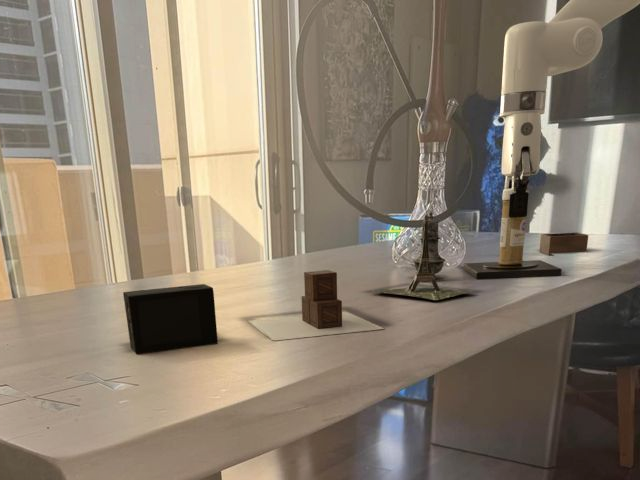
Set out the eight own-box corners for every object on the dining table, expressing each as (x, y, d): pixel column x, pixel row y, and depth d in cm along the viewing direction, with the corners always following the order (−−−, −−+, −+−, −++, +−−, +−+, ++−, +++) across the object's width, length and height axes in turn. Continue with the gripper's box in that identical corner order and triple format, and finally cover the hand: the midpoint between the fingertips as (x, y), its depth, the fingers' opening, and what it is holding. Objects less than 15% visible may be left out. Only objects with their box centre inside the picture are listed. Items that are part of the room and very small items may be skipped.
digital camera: (207, 336, 91) (202, 282, 88) (218, 344, 86) (213, 286, 84) (129, 346, 88) (121, 290, 85) (136, 354, 83) (127, 295, 81)
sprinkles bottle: (520, 265, 130) (527, 188, 124) (495, 265, 131) (500, 189, 126) (524, 262, 133) (530, 187, 128) (500, 262, 135) (505, 188, 130)
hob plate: (539, 266, 139) (540, 258, 138) (560, 275, 125) (561, 267, 125) (463, 269, 141) (464, 261, 140) (476, 279, 127) (476, 270, 126)
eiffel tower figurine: (367, 294, 117) (366, 210, 111) (408, 287, 122) (409, 206, 117) (436, 303, 106) (439, 209, 100) (478, 294, 111) (483, 205, 106)
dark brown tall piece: (406, 280, 131) (407, 212, 126) (433, 277, 133) (435, 210, 128) (423, 283, 126) (425, 212, 121) (451, 280, 128) (454, 210, 123)
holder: (575, 250, 162) (577, 232, 160) (586, 253, 154) (588, 235, 153) (539, 252, 163) (540, 234, 161) (548, 255, 155) (550, 236, 154)
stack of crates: (247, 321, 100) (244, 272, 97) (345, 311, 103) (344, 263, 100) (273, 341, 86) (270, 284, 84) (384, 329, 90) (385, 274, 87)
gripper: (557, 99, 114) (546, 217, 121) (532, 109, 129) (524, 213, 136) (511, 102, 114) (502, 220, 122) (491, 111, 130) (485, 215, 137)
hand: (514, 215), depth 129 cm, fingers closed on sprinkles bottle, 4 cm apart
